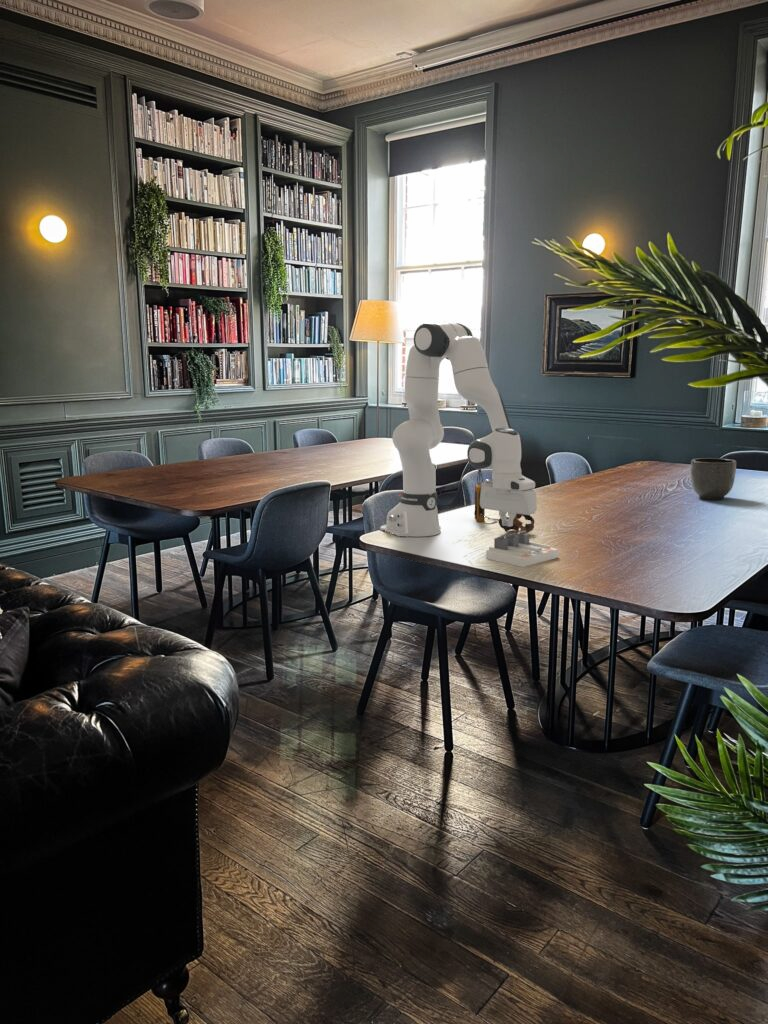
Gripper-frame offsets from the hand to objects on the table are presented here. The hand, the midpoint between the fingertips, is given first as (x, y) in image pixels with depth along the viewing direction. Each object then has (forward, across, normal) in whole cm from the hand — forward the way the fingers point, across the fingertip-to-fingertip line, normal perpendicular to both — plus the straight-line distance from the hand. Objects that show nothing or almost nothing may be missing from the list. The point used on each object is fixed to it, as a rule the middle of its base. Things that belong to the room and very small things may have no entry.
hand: (507, 525), depth 237 cm
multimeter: (+7, -35, +30) cm, 46 cm away
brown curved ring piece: (+8, -13, +20) cm, 25 cm away
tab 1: (+5, +6, -10) cm, 13 cm away
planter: (+9, 0, +129) cm, 129 cm away
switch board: (+8, +10, -5) cm, 14 cm away
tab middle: (+5, +6, -5) cm, 9 cm away
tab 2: (+5, +6, 0) cm, 8 cm away
